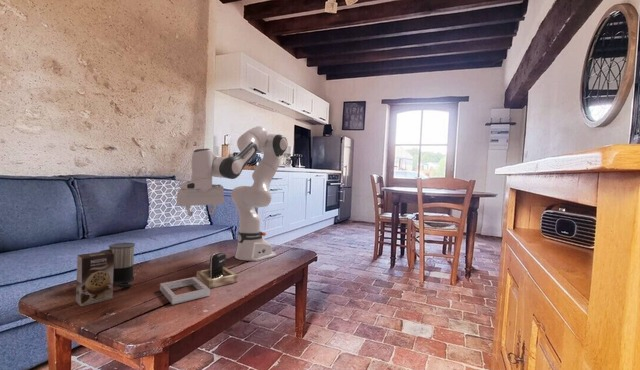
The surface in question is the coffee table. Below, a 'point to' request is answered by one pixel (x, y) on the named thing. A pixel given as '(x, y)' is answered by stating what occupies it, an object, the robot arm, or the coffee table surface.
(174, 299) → the frame
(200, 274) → the tan wooden frame
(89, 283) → the cookie box
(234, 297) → the coffee table surface
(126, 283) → the milk frother
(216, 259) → the battery charger
